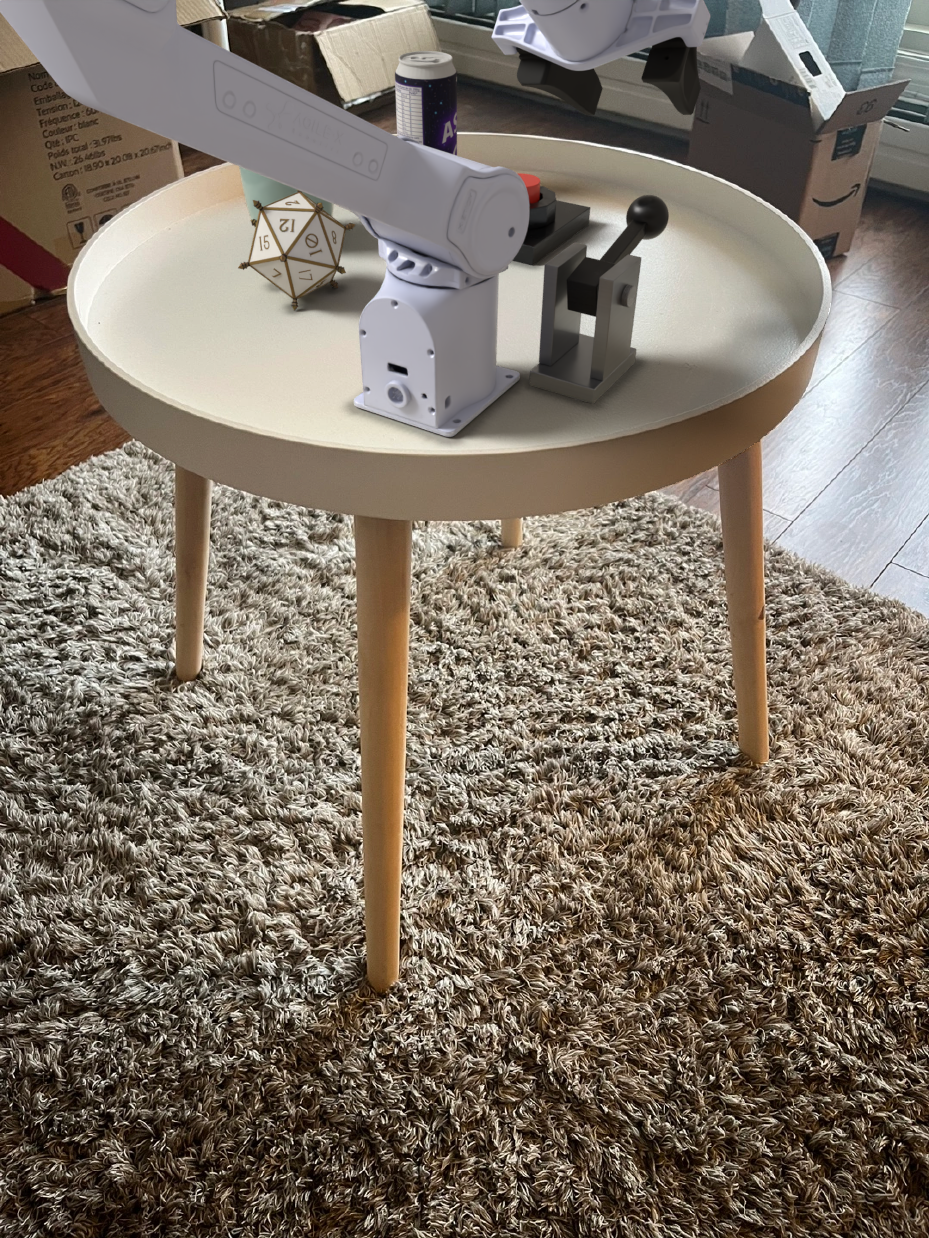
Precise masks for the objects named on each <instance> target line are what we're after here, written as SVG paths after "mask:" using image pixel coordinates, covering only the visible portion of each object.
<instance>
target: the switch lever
mask: <svg viewBox="0 0 929 1238" xmlns="http://www.w3.org/2000/svg"><path fill="white" fill-rule="evenodd" d="M669 217H670V213H669V208H668V206H667V204H666V203H665V201H664V200H663V199H662V198H660V197H659V196H657V195H654V194H644V195H641V196H639V197H637V198H635V199H634V200H633V201H632V202H631V203H630V205H629V207H628V209H627V211H626V216H625V222H626V227H625V229H624V230H623V231H622V232H621V233H620V235H618V236H617V238H616V239H615V240H614V242H612V244H611V245H610V247H609V248H608V249H607V250H606V251H605V253H604V254H603V255H602V256H601V257H600V259H598V258H593V257H589V256H586V257H585V258H584V259H583V260H582V261H581V263H580V264H579V265H578V266H577V267H576V269H575V270H574V271H573V272H572V273H571V275H570V276H569V277H568V278H567V309H568V310H571V311H575V312H578V313H581V315H582V314H583V315H586V316H591V317H594V318H596V312H597V301H598V291H599V281H600V277H601V276H602V275H603V274H605V273H606V272H607V271H608V270H610V269H611V268H612V267H613V266H614V265H616V264H617V263H618V262H619V261H621V260H622V259H623V258H624V257H626V256H627V255H628V254H629V255H632V253H633V251H635V249H636V248H637V247H638V245H640V243H641V242H642V241H643V240H644V241H650V240H653V239H655V238H658V237H659V236H661V235H662V234H663V232H664V231H665V229H666V228H667V226H668V223H669Z"/></svg>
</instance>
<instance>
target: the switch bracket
mask: <svg viewBox="0 0 929 1238" xmlns="http://www.w3.org/2000/svg"><path fill="white" fill-rule="evenodd" d="M587 251H588V244H585V243H579V242H577V241H576V242H572V243H571V244H570V245H568V246H567V247H565V248H564V249H563V250H562V251H560V252H559V253H557V254H556V255H555V256H553V257H552V258H550V259H549V260H548V261H547V262H545V263H544V267H543V283H542V284H543V285H542V301H541V315H540V316H541V317H540V319H541V320H540V335H539V350H538V351H539V353H538V363H537V364H536V365H535V366H534V367H533V368H532V369H531V370H529V384H528V385H529V386H531V387H534V388H538V389H540V390H545V391H548V392H551V393H555V394H558V395H561V396H565V397H568V398H571V399H575V400H578V401H581V402H585V403H589V404H591V405H592V404H593V405H594V404H595V403H596V402H597V401H598V400H599V399H600V398H601V397H602V396H603V395H604V394H605V393H606V392H607V391H609V389H610V388H612V386H613V385H615V383H617V381H618V380H619V379H620V378H621V377H622V376H623V375H624V374H625V373H627V371H629V369H631V367H633V365H634V364H635V363H636V357H637V348H635V347H632V338H633V331H634V330H633V329H634V323H635V322H634V321H635V313H636V305H637V300H638V299H637V297H638V291H639V281H640V276H641V275H640V274H641V267H642V257H641V256H637V255H633V254H630V255H629V254H628V255H627V256H626V257H624V258H623V259H622V260H621V261H619V262H618V263H617V264H616V265H614V266H613V267H612V268H611V269H610V270H608V271H607V272H606V273H605V274H603V275H602V276H601V277H600V281H599V291H598V301H597V312H596V317H595V324H594V333H593V336H590V335H587V334H583V333H581V322H582V313H578V312H575V311H571V310H568V309H567V278H568V277H569V276H570V275H571V273H572V272H573V271H574V270H575V269H576V267H577V266H578V265H579V264H580V263H581V261H582V260H583V259H584V258H585V257H587V254H588V253H587Z"/></svg>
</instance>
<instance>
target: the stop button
mask: <svg viewBox="0 0 929 1238" xmlns="http://www.w3.org/2000/svg"><path fill="white" fill-rule="evenodd" d="M516 173H517V172H516ZM517 174H518V175H519V176H520V177H521V178H522V180H523V181H524V183H525V186H526V188H527V192H528V196H529V204H531V203H536V202H538V201H539V199H540V186H541V179H540V178H539V177H538V176H536V175H535V174H530V173H524V172H523V173H521V172H520V173H519V172H518V173H517Z"/></svg>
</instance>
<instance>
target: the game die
mask: <svg viewBox="0 0 929 1238" xmlns="http://www.w3.org/2000/svg"><path fill="white" fill-rule="evenodd" d="M253 204H254V207H256V208H257V209H259V214H258V219H257V220H256V219H253V220H251V219H250V221H249V222H250V223H251V226H252V227H254V233H253V237H252V241H251V246H250V250H249V255H248V259H247V261H243V262H240V264H239V266H238V267H237V269H239V270H243V271H244V270H245V269H248V268H249V267H250V268H251V269H253V270H254V271H255V272H257V273H258V274H259V275H260V276H262V277H263V278H264V279H266V280H267V281H268V282H270V283H271V284H272V285H273V286H275V287H276V288H278V289H279V290H280V291H281V292H282V293H284V294H286V295H287V296H288V297H289V298H291V299H292V301H291V305H290V306H291V307H292V309H293V311H294V312H295V311H296V310H297V308H299V302H298V300H299V299H301V298H303V297H305V296H307V295H309V294H310V293H312V292H314V291H317V290H318V289H320V288H322V287H324V286H327V285H328V284H329V285H330V286H331V288H332V289H333V288H335V289H339V286H338V284H339V283H338V282H337V281H336V280H335V279H334V278H335V276H336V273H339V274H341V275H343V274H347V272H346V270H345V267H344V266H342V265H340V261H341V256H342V252H343V247H344V241H345V236H346V232H347V231H351V230H352V231H353V230H354V228H355V226H356V224H355V223H352V222H349V223H346V225H344V224H342V223H341V222H340V221H338V220H337V219H336V218H335V217H333V216H331V215H330V214H328V213H327V212H326V211H325V210H323V208H324V207H323V205H322V203H317V204H316V203H314V202H313V201H312V200H311V199H309V198H308V197H307V196H306V195H304V194H303V193H302V191H300V190H297V193H294V194H292V195H290V196H287V197H285V198H282V199H280V200H278V201H275V202H273V203H271V204H268V205H266V206H262V205H261V203H260V202H259V201H256V200H253ZM255 227H256V228H255Z"/></svg>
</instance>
